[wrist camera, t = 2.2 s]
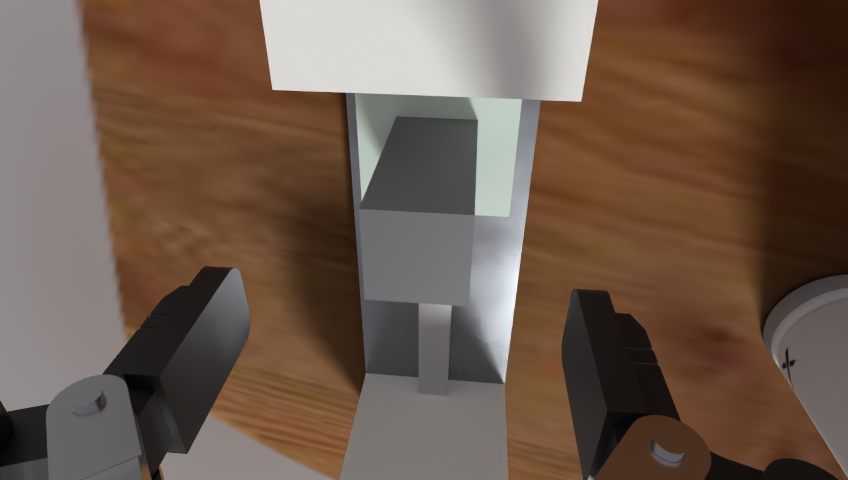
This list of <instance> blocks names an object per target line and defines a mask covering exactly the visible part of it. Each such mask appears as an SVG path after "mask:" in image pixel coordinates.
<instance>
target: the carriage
mask: <svg viewBox="0 0 848 480" xmlns="http://www.w3.org/2000/svg"><path fill="white" fill-rule="evenodd" d="M355 102H356V118H357V134H358V150H359V166H360V182H361V198H362V202H361V205H360V207H359V221H360V236H361V251H362V266H363V282H364V297H365V300H379V301H394V302H409V303H423V304H438V305H453V306H467V307H469V293H470V278H471V264H472V249H473V234H474V220H475V215H482V216H500V217H509V214H510V205H511V196H512V186H513V177H514V168H515V159H516V150H517V140H518V131H519V122H520V113H521V103H522V99H502V98H476V97H450V96H423V95H397V94H371V93H355Z"/></svg>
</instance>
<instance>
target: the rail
mask: <svg viewBox="0 0 848 480" xmlns="http://www.w3.org/2000/svg"><path fill="white" fill-rule="evenodd" d="M346 102H347V116H348V130H349V144H350V158H351V172H352V186H353V200H354V214H355V228H356V242H357V256H358V270H359V284H360V298H361V312H362V326H363V340H364V354H365V368H366V373H369V374H382V375H395V376H407V377H419V390H418V394H428V395H440V396H447V391H448V380H458V381H471V382H483V383H496V384H505V377H506V369H507V361H508V353H509V345H510V337H511V330H512V322H513V314H514V306H515V298H516V291H517V283H518V275H519V267H520V259H521V251H522V244H523V236H524V228H525V220H526V212H527V205H528V197H529V189H530V181H531V173H532V165H533V158H534V150H535V142H536V134H537V126H538V119H539V111H540V103H541V100H528V99H522V103H521V113H520V122H519V131H518V140H517V150H516V159H515V168H514V177H513V186H512V196H511V205H510V214H509V217H500V216H482V215H475V220H474V234H473V249H472V264H471V278H470V293H469V307H467V306H453V305H438V304H423V303H409V302H394V301H379V300H365V297H364V282H363V266H362V251H361V236H360V221H359V207H360V205H361V202H362V198H361V182H360V166H359V150H358V134H357V118H356V102H355V93H346Z"/></svg>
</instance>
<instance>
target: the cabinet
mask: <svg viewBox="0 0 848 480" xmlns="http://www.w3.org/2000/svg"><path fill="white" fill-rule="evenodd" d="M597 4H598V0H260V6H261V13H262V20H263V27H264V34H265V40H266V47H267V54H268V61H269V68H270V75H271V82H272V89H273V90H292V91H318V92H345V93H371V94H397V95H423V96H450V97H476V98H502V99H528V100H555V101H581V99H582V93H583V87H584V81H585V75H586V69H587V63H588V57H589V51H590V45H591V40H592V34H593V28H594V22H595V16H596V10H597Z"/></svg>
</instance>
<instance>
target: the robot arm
mask: <svg viewBox="0 0 848 480" xmlns="http://www.w3.org/2000/svg"><path fill="white" fill-rule="evenodd" d="M249 331H250V315H249V310H248V306H247V301H246V296H245V292H244V287H243V282H242V278H241V274H240V272H239V270H238V269H237V268H227V267H210V266H206V267H203V268H202V269H201V270H200V272H199V273H198V274H197V276H196V277H195V278H194V280H193V281H192V282H191V284H190V285H189V286H180V287H179V288H177V289H176V290H174V291H173V292H171V293H170V294H168V295H167V296H165V297H164V298H163V299H162V300H161V301H160V302H159V304H158V305H157V306H156V307H155V309H154V310H153V311H152V312H151V316H150V317H147V319H146V320H145V321H144V322H143V324H142V325H141V328H140V329H138V330H137V331H136V332H135V334H134V335H133V336H132V337H131V339H130V340H129V341H128V343H127V344H126V345H125V346H124V348H123V349H122V350H121V351H120V353H119V354H118V355H117V356H116V358H115V359H114V360H113V361H112V363H111V364H110V365H109V366H108V368H107V369H106V370H105V372H104V373H103V374H102V375H96V376H91V377H88V378H84V379H82V380H80V381H77V382H75V383H73V384H71V385H70V386H68V387H67V388H65V389H64V390H62V391H61V392H60V393H59V394H58V395H57V396H56V397H55V398H54V399H53V400H52V402H51V403H50V404H48V405H42V406H36V407H31V408H25V409H19V410H14V411H8V412H7V411H6V409H5V408H4V406H3V404H2V403H1V401H0V480H164V477H163V473H162V470H161V468H160V464H161V462H162V460H163V458H164V456H165V455H166V453H167V452H170V453H182V454H187V453H188V451H189V449H190V448H191V446H192V443H193V442H194V440H195V438H196V436H197V434H198V432H199V430H200V428H201V427H202V425H203V423H204V421H205V419H206V417H207V415H208V413H209V412H210V410H211V408H212V406H213V404H214V402H215V400H216V398H217V396H218V395H219V393H220V391H221V389H222V387H223V385H224V383H225V381H226V379H227V377H228V376H229V374H230V372H231V370H232V368H233V366H234V364H235V362H236V360H237V359H238V357H239V355H240V353H241V351H242V349H243V347H244V345H245V343H246V341H247V339H248V335H249ZM562 364H563V370H564V375H565V381H566V386H567V392H568V397H569V403H570V408H571V414H572V419H573V425H574V430H575V436H576V441H577V447H578V452H579V458H580V463H581V469H582V474H583V480H838V479H837V478H835V477H834V476H833V475H831V474H830V473H828V472H827V471H825V470H823V469H822V468H820V467H818V466H816V465H813V464H811V463H808V462H805V461H802V460H797V459H788V458H785V459H779V460H775V461H773V462H772V463H770V464H769V465H768V466H767V467H766V469H765V471H761V470H758V469H755V468H752V467H749V466H746V465H743V464H740V463H737V462H734V461H731V460H728V459H726V458H723V457H721V456H719V455H717V454H715V453H713V452H711V451H709V449H708V447H707V445H706V443H705V442H704V440H703V439H702V438H701V436H700V435H698V434H697V433H696V432H695V431H694V430H693V429H692V428H690V427H689V426H687V425H686V424H684V423H682V422H681V420H680V418H679V415H678V412H677V410H676V407H675V405H674V402H673V400H672V397H671V395H670V392H669V389H668V387H667V384H666V382H665V379H664V377H663V374H662V371H661V369H660V366H658V361H657V359H656V356H655V354H654V351H652V346H651V343H650V341H649V338H648V336H647V333H646V330H645V329H644V328H643V327H642V326H641V325H640V324H639V323H638V322H637V321H636V320H635V319H634V318H633V317H632V316H631V315H630V314H622V313H615V311H614V308H613V305H612V302H611V299H610V296H609V293H608V292H607V291H603V290H586V289H574V290H573V291H572V294H571V299H570V304H569V309H568V314H567V319H566V324H565V329H564V334H563V340H562Z"/></svg>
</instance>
